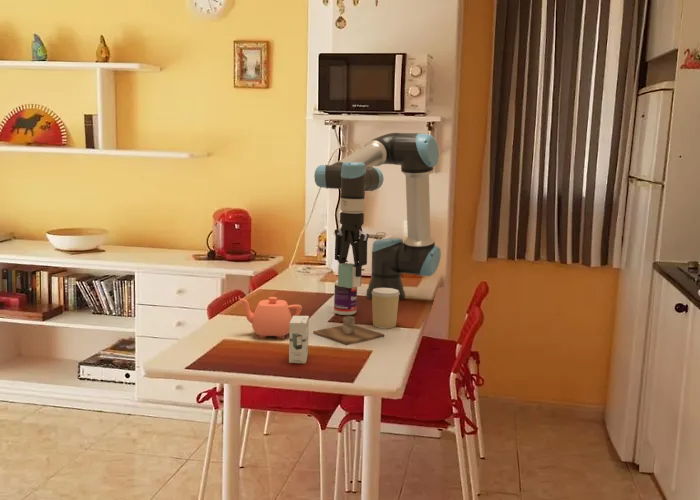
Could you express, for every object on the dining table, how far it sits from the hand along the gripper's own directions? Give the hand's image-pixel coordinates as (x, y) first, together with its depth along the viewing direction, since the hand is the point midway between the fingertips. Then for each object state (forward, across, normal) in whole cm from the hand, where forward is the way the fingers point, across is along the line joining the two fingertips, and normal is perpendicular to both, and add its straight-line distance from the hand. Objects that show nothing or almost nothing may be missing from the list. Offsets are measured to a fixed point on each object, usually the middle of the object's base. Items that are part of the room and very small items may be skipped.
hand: (349, 284), depth 239 cm
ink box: (+17, +10, -28) cm, 34 cm away
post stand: (+16, 0, 0) cm, 16 cm away
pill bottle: (+17, -22, +18) cm, 33 cm away
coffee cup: (+17, -2, +18) cm, 25 cm away
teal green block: (0, 0, 0) cm, 0 cm away
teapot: (+17, -15, -20) cm, 30 cm away
